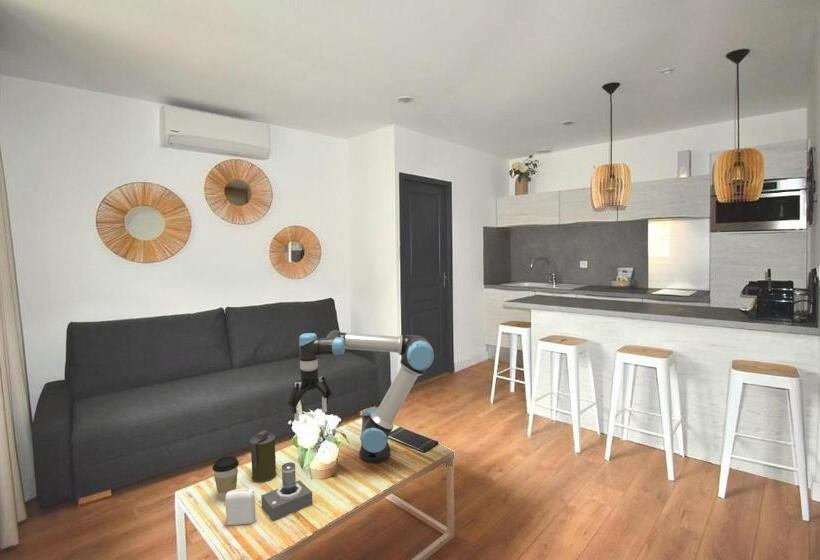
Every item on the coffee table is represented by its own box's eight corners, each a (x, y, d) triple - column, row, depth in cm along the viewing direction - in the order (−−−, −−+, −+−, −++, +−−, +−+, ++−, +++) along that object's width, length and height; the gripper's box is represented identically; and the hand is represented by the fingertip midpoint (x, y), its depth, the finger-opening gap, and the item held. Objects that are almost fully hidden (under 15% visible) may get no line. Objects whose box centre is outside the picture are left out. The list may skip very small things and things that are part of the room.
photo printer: (224, 526, 152) (223, 494, 152) (228, 519, 157) (227, 487, 156) (254, 524, 153) (252, 492, 153) (257, 517, 158) (255, 485, 157)
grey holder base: (300, 491, 174) (299, 477, 173) (312, 504, 165) (312, 489, 165) (261, 507, 164) (261, 492, 163) (272, 521, 155) (272, 505, 155)
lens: (292, 487, 168) (291, 460, 167) (298, 492, 164) (297, 466, 163) (280, 492, 165) (279, 465, 164) (285, 498, 161) (285, 470, 160)
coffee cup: (245, 494, 172) (243, 459, 171) (223, 506, 164) (221, 470, 163) (231, 487, 178) (229, 452, 177) (209, 498, 170) (207, 462, 169)
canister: (262, 468, 193) (260, 426, 191) (281, 472, 189) (279, 429, 188) (245, 481, 182) (243, 436, 181) (265, 485, 179) (263, 439, 177)
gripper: (329, 361, 195) (331, 405, 197) (278, 373, 179) (280, 421, 181) (338, 364, 190) (339, 410, 191) (286, 376, 173) (288, 426, 175)
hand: (311, 415), depth 186 cm, fingers open, 13 cm apart
